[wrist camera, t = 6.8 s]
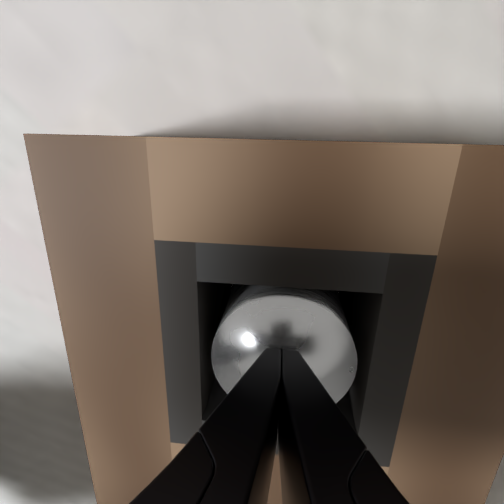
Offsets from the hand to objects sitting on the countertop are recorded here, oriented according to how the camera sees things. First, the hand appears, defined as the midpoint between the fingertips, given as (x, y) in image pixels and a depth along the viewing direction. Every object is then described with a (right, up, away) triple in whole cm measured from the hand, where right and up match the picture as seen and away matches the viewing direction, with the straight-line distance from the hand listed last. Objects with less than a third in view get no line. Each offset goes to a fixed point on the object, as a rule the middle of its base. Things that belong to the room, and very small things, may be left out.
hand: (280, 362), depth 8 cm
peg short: (+1, +2, +5) cm, 5 cm away
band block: (0, -4, +6) cm, 7 cm away
